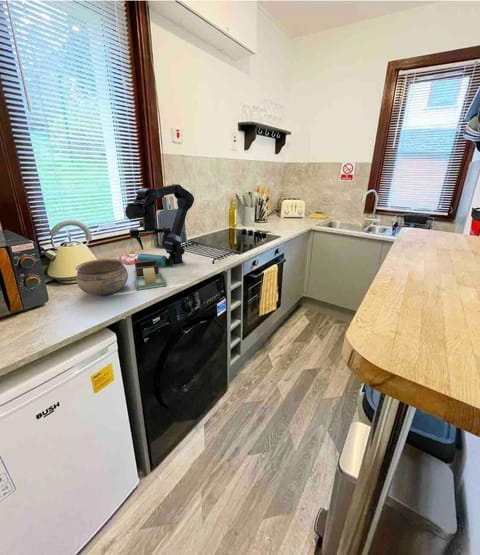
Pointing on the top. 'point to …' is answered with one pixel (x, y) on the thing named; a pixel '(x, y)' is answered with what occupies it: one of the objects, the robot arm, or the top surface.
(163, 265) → the beverage bottle
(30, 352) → the top surface
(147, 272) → the tape roll
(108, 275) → the brown bowl
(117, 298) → the top surface
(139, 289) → the tray
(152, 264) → the tape holder
